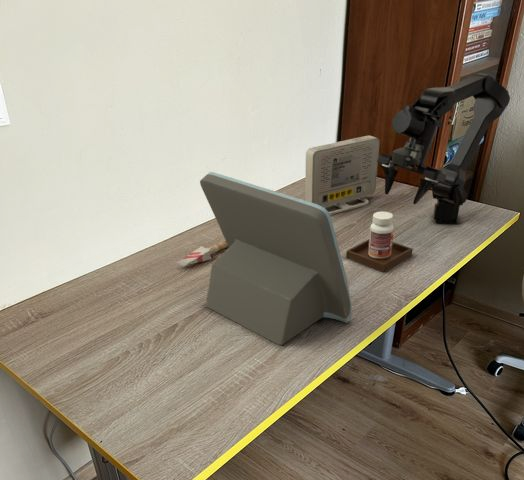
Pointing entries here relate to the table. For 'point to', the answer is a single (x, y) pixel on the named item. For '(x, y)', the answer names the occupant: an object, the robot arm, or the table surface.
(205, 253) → the chopstick bundle
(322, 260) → the touchscreen device
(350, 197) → the network device
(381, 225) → the pill bottle
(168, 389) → the table surface
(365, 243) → the walnut tray
